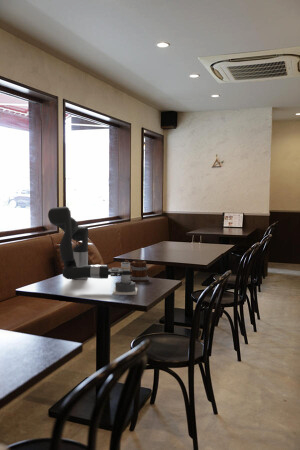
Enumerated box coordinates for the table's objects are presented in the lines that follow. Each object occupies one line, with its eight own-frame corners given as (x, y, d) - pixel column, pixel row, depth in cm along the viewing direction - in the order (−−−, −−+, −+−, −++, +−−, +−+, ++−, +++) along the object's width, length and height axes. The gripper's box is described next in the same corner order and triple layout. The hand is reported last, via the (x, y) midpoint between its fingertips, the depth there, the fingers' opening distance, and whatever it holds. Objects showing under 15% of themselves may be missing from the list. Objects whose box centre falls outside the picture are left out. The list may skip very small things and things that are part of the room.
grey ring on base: (112, 294, 223) (112, 285, 222) (114, 288, 236) (114, 280, 235) (136, 294, 223) (136, 285, 222) (137, 289, 236) (137, 280, 235)
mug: (149, 282, 254) (145, 258, 253) (126, 285, 254) (122, 261, 253) (150, 278, 266) (146, 255, 265) (128, 281, 266) (124, 258, 265)
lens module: (120, 285, 226) (120, 263, 225) (121, 283, 231) (121, 261, 230) (129, 285, 226) (129, 263, 225) (130, 283, 231) (130, 262, 230)
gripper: (97, 267, 221) (129, 267, 221) (101, 262, 235) (131, 263, 235) (97, 281, 221) (129, 281, 221) (101, 275, 236) (130, 276, 236)
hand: (130, 272), depth 228 cm, fingers closed on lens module, 4 cm apart
